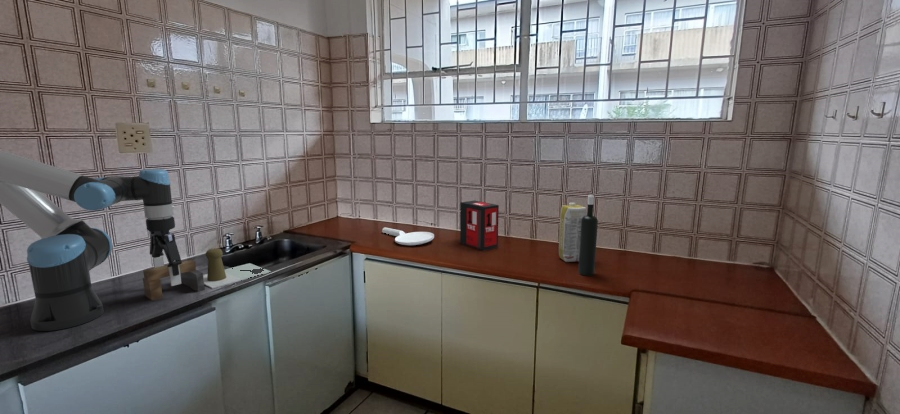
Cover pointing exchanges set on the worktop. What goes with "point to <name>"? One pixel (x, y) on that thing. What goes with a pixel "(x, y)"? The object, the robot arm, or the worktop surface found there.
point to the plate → (234, 275)
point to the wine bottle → (588, 241)
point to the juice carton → (570, 231)
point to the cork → (215, 265)
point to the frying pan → (409, 236)
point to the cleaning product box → (479, 225)
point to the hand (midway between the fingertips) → (168, 280)
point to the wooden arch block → (153, 275)
